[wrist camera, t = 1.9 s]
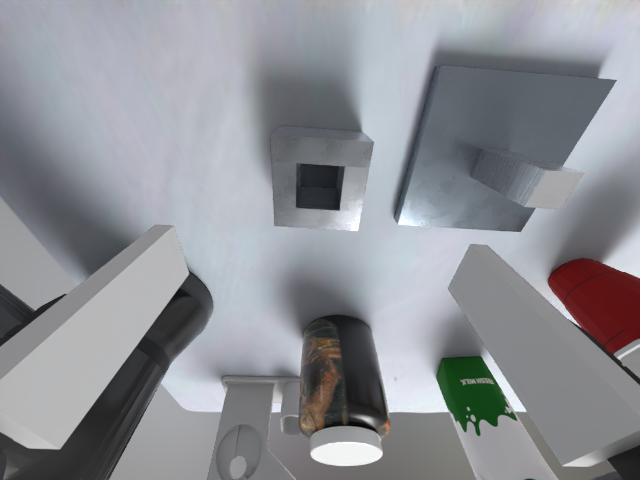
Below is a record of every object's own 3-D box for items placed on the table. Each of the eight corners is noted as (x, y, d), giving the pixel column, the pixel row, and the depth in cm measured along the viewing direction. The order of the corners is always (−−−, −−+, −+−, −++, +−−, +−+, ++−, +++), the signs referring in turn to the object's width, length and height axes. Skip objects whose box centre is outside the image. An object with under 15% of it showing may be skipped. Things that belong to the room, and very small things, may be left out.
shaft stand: (394, 218, 26) (421, 264, 19) (435, 67, 19) (506, 50, 12) (511, 225, 27) (580, 273, 20) (597, 80, 19) (762, 73, 12)
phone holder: (308, 377, 46) (302, 517, 31) (307, 400, 51) (301, 528, 36) (221, 375, 45) (172, 515, 30) (229, 398, 51) (191, 527, 36)
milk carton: (487, 352, 41) (603, 532, 24) (474, 378, 46) (564, 542, 29) (437, 355, 42) (517, 534, 25) (430, 380, 46) (492, 543, 30)
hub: (283, 201, 25) (274, 225, 21) (281, 125, 21) (270, 134, 16) (350, 205, 25) (357, 230, 21) (362, 131, 21) (374, 141, 17)
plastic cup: (524, 261, 30) (629, 348, 20) (625, 229, 27) (807, 309, 17) (525, 311, 35) (609, 399, 25) (610, 287, 32) (743, 376, 22)
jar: (379, 316, 36) (411, 437, 23) (366, 357, 42) (385, 471, 29) (304, 312, 35) (295, 434, 23) (302, 355, 41) (294, 469, 29)
